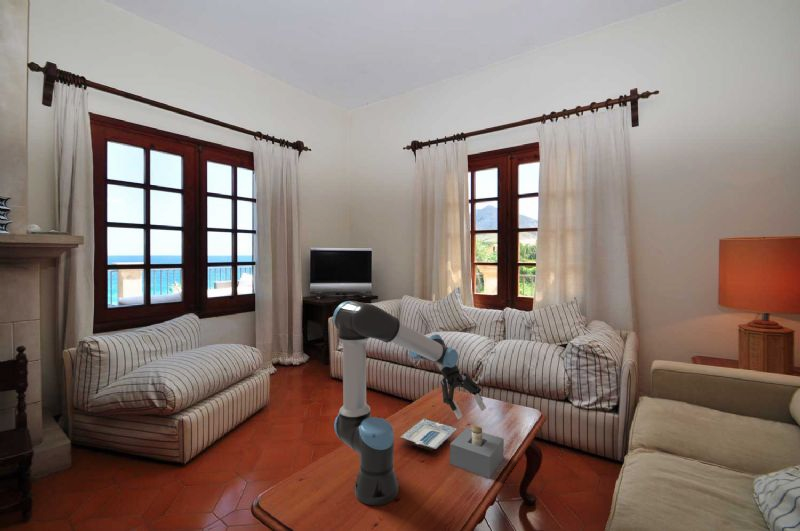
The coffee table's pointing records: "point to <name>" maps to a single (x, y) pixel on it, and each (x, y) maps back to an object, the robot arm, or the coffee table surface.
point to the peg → (477, 436)
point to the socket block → (477, 453)
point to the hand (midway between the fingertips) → (472, 413)
